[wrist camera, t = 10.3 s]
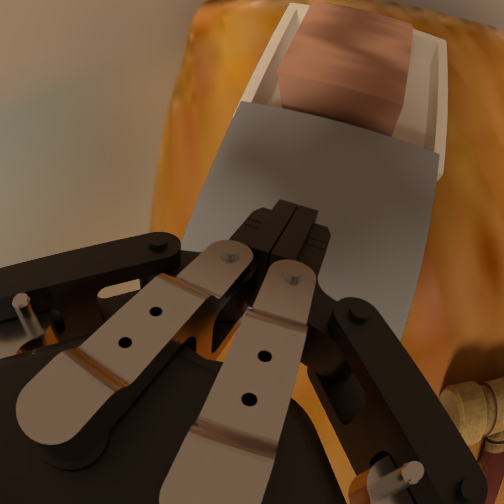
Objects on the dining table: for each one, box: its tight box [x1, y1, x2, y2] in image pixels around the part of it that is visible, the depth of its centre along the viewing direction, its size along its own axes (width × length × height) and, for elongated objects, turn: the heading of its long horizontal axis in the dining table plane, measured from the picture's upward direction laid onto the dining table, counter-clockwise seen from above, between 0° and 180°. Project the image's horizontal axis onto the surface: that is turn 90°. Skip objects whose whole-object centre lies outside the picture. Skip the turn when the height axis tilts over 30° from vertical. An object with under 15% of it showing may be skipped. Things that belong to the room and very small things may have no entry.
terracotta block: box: [277, 1, 413, 137], centre depth 19 cm, size 7×7×8 cm
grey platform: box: [181, 101, 440, 341], centre depth 19 cm, size 12×12×6 cm
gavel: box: [439, 377, 504, 504], centre depth 14 cm, size 21×5×10 cm
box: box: [233, 3, 448, 181], centre depth 21 cm, size 14×14×4 cm
